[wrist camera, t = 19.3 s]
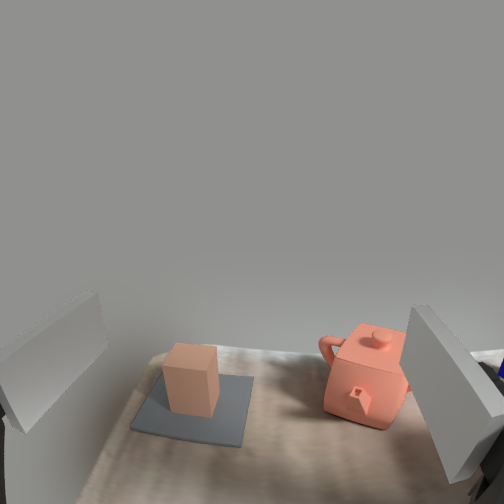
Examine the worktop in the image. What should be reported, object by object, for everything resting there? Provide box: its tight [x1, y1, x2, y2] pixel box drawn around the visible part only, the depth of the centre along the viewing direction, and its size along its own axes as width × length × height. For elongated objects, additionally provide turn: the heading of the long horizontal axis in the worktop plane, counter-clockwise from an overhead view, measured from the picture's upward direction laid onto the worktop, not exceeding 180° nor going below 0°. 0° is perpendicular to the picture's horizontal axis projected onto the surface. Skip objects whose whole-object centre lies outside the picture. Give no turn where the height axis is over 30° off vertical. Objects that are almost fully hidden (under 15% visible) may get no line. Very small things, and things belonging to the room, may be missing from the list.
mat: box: [130, 372, 254, 448], centre depth 50 cm, size 18×18×1 cm
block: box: [162, 343, 220, 418], centre depth 48 cm, size 7×7×10 cm
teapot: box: [319, 323, 412, 430], centre depth 46 cm, size 20×22×14 cm
